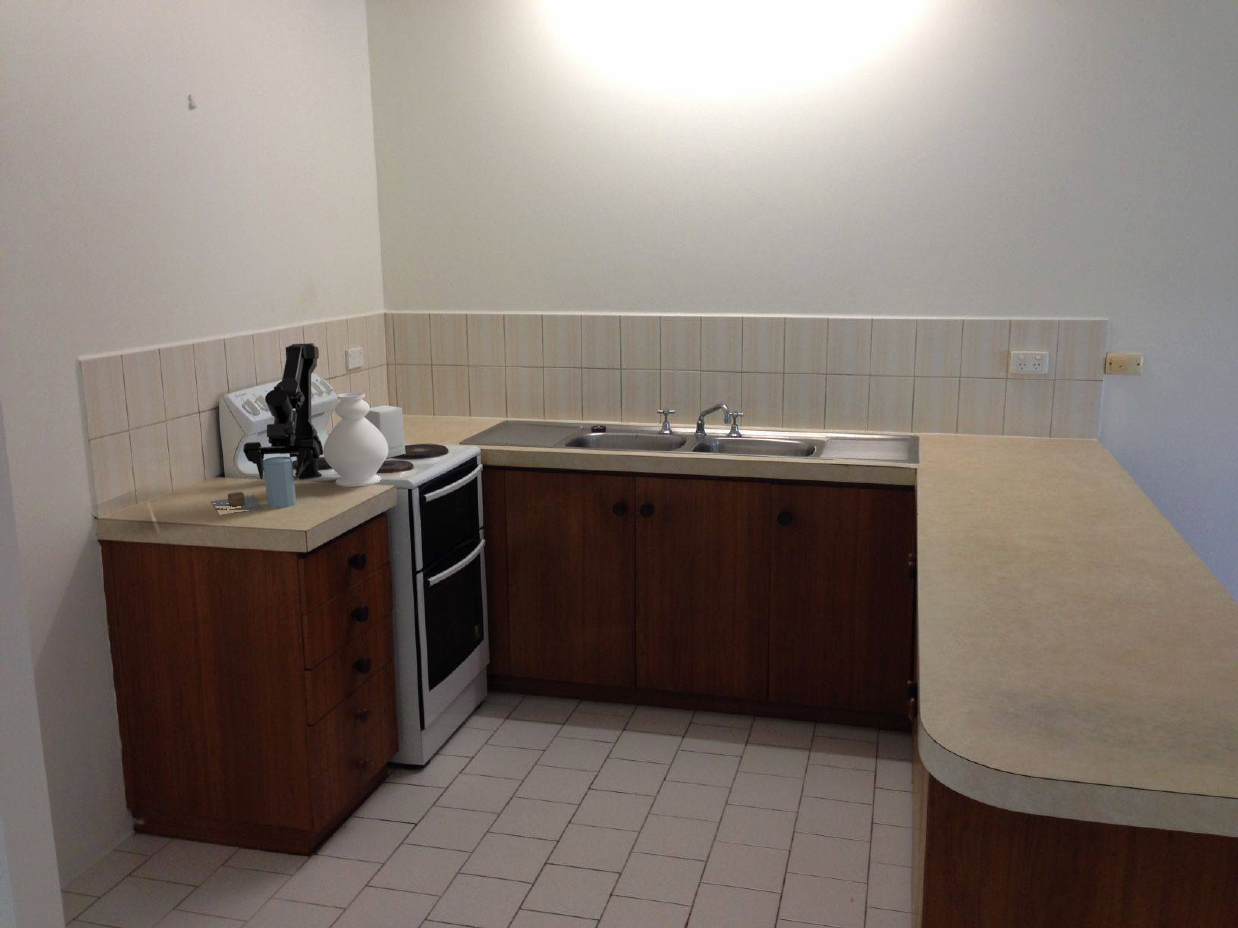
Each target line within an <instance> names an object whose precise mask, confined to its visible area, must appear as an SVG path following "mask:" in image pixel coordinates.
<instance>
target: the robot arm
mask: <svg viewBox="0 0 1238 928" xmlns="http://www.w3.org/2000/svg"><path fill="white" fill-rule="evenodd" d="M284 349H285V364H284V369H283V374H282V379H281V381H280V382H278V383H277V384H276V385H275V386H274V387H273V389H272V390H269V391H268V393H267V394H266V395H265V397H264V400H265V403H266V406H267V408H268V410H269V412H270V415H271V417H273V423H269V424H266V438H268V444H271V445H269V446H267V445H266V446H265V445H264V446H263V445H261V444H262V443H261V441H250V442H249V441H248V442H245V443H244V444H243V454H244V456H245V458H246V459H247V461H248V462H251V463H252V464H254V465H256V468H257V472H258V476H259V480H263V478H264V467H263V461H264V460H265V459H264V458H265V455H289V457H290V458H296V469H295V473H294V475H295V477H296V478H298V479H299V480H302V479H309V478H317V477H322V473H321V472H320V471H319V465H318V459H319V458H320V456H324V453H323V450H324V446H323V444H322V441H321V439H320V437H319V435H318V431H317V429H316V427H315V425H314V424H313V423H312V374H313V372H314V370H316V368H317V365H318V360H319V359H320V358H319V357H320V351H319V347H318V346H315V344H314V343H313V342H312V343H311V342H309V343H292V344H291V345H287V346H285V348H284Z"/></svg>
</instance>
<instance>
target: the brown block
mask: <svg viewBox="0 0 1238 928" xmlns="http://www.w3.org/2000/svg"><path fill="white" fill-rule="evenodd" d="M244 497H245V493H244V492H243V491H233V492H230V493H228V494H227V499H228V503H229V506H230V507H231V506H232V507H237V506H243V505H245V501H244Z"/></svg>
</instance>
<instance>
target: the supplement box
mask: <svg viewBox="0 0 1238 928" xmlns="http://www.w3.org/2000/svg"><path fill="white" fill-rule="evenodd" d="M364 418H366V419H367V420H368V421H369V422H371V423H372V424H373V425H374V426H375V427H376V428H377V429H378V430H379V431H380V432H381V433H382V434H383V436H384V437H385V439H386V441H387V444H388V455H387V457H386V459H390V458H394V457H398V456H403V454H404V455H406V443H405V432H404V429H405V428H404V418H403V407H399V406H393V405H392V406H391V405H386V404H385V405H379V406H373V407H370V410H369V412H368V413H367V414H366V415H365V416H364Z"/></svg>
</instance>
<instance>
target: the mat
mask: <svg viewBox="0 0 1238 928" xmlns="http://www.w3.org/2000/svg"><path fill="white" fill-rule="evenodd" d="M244 501H245V505H243V506H241V508H235V509H229V510H249V511H248V512H252V510H254V511H260V510H264V507H263V505H261V503H260V502H259V500H258V499H257V498H256V497H255V495H247V496H246V495H244ZM210 502H211V504H212V503H216V504H212V507H214V506H229V504H226V503H228V498H225V499H219V500H218V499H217V500H211V501H210ZM221 503H222V504H221ZM216 510H227V508H226V509H223V508H221V509H220V508H216V509H215V511H216ZM245 512H246V511H243V512H242V513H245ZM238 513H239V512H237V513H236V514H238Z"/></svg>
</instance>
